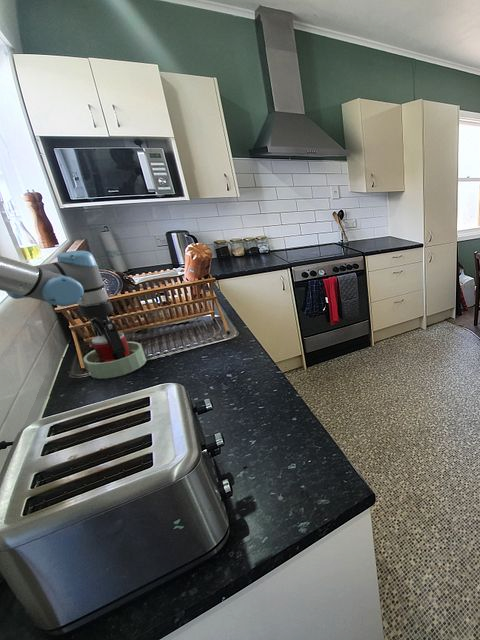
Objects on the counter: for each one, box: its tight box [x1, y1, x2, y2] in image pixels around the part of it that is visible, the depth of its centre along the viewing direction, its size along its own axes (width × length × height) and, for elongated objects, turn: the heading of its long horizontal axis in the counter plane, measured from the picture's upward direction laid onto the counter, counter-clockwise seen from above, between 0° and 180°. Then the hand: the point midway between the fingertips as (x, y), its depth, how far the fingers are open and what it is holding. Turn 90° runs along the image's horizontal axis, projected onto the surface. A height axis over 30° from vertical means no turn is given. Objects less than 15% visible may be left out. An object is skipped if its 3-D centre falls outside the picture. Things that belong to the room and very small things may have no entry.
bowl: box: [82, 341, 147, 380], centre depth 114 cm, size 15×15×6 cm
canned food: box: [91, 331, 131, 363], centre depth 113 cm, size 8×8×11 cm
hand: (118, 365), depth 115 cm, fingers closed on canned food, 8 cm apart
